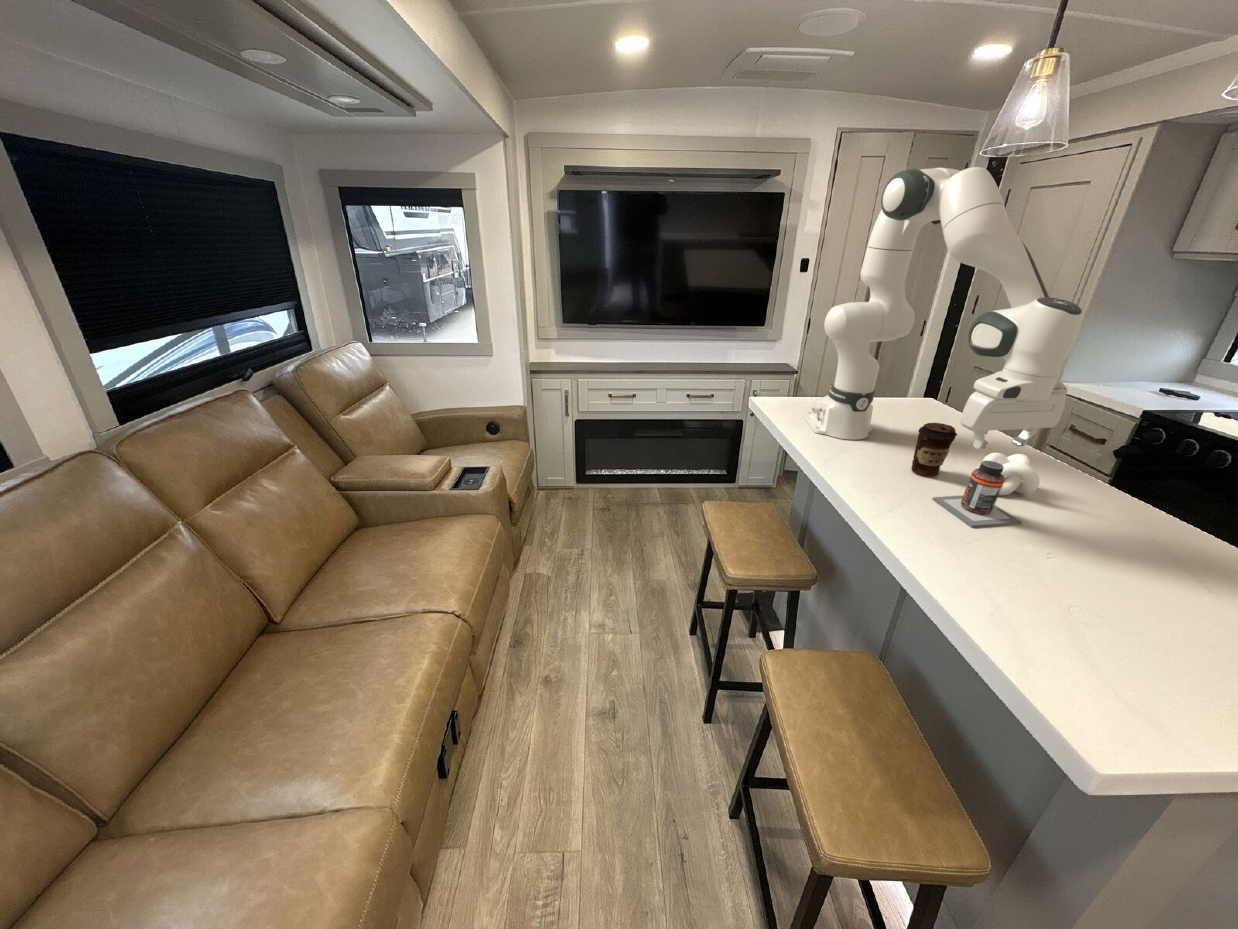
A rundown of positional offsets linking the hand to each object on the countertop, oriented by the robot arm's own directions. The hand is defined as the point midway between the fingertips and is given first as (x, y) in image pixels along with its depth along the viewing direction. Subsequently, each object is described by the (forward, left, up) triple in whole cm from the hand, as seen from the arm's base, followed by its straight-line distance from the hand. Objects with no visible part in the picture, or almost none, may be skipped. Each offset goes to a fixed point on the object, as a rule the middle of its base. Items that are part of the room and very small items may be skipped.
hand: (998, 446), depth 103 cm
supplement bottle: (0, 0, -16) cm, 16 cm away
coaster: (0, 0, -16) cm, 16 cm away
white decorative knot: (-9, +15, -16) cm, 24 cm away
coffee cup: (-19, +2, -16) cm, 25 cm away
